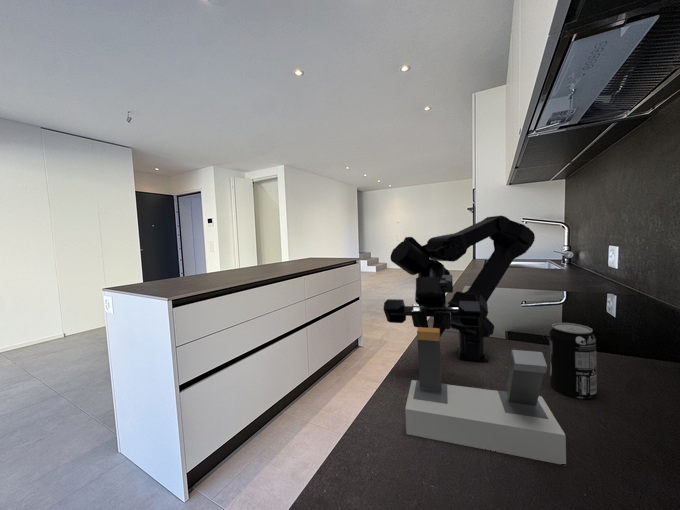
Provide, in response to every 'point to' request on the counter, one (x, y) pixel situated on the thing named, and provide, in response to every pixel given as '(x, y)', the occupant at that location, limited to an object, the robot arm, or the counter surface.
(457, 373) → the counter surface
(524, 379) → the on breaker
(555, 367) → the beverage can
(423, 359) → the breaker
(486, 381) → the counter surface
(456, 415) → the grey mounting base
